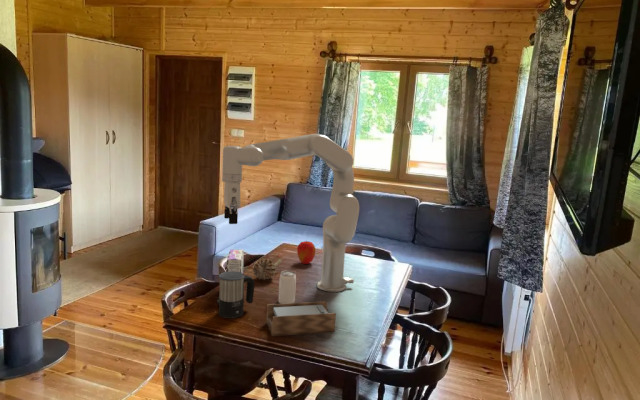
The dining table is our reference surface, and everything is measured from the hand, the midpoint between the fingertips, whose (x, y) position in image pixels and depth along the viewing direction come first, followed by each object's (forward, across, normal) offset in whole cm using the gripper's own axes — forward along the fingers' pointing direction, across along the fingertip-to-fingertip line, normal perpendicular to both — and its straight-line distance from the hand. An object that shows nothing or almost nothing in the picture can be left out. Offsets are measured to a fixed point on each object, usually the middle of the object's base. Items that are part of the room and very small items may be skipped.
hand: (230, 220), depth 193 cm
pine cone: (+31, +17, -21) cm, 41 cm away
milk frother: (+31, -15, +3) cm, 34 cm away
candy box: (+31, +2, -3) cm, 31 cm away
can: (+31, -13, -21) cm, 39 cm away
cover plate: (+26, -36, -19) cm, 48 cm away
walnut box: (+30, -36, -19) cm, 51 cm away
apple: (+30, +33, -45) cm, 63 cm away
